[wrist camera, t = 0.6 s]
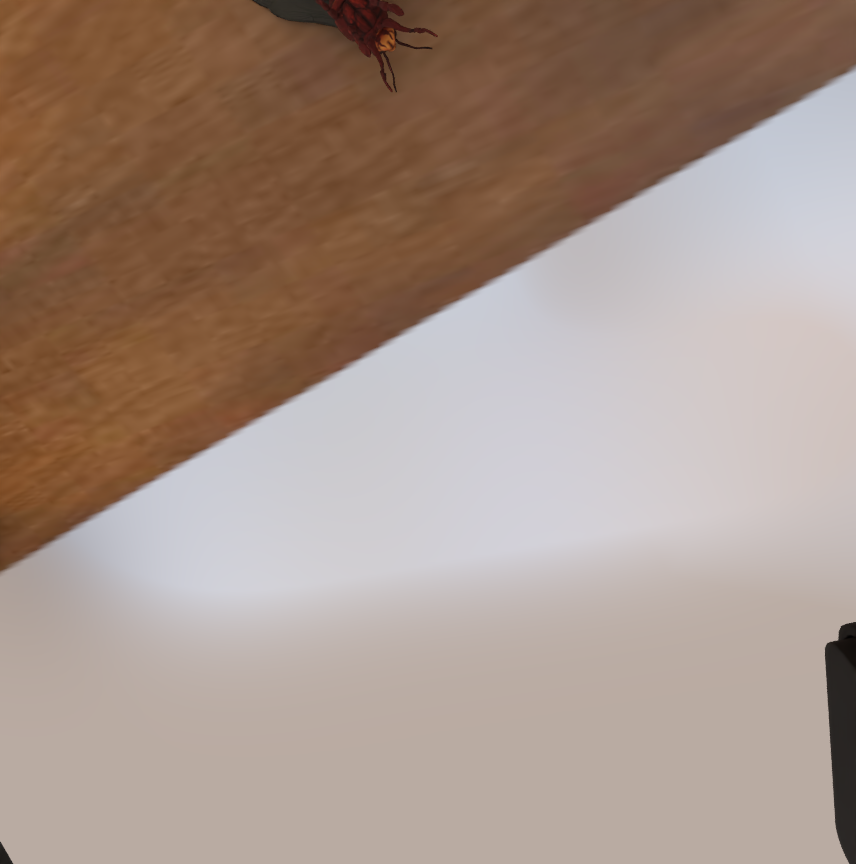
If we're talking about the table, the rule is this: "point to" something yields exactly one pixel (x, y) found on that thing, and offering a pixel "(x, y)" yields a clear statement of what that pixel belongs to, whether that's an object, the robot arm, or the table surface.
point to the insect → (350, 22)
